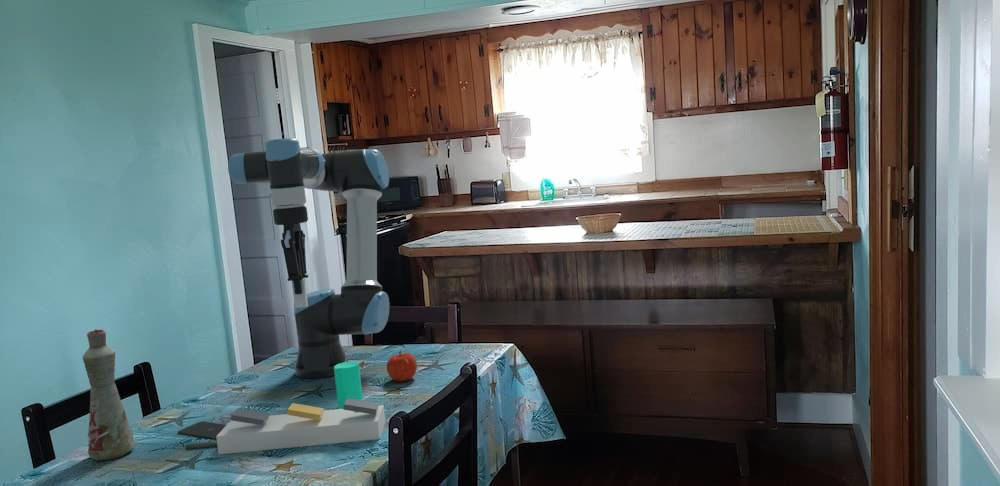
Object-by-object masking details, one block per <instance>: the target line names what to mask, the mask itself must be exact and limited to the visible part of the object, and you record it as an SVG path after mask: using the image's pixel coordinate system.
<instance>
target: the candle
mask: <svg viewBox="0 0 1000 486" xmlns="http://www.w3.org/2000/svg"><path fill="white" fill-rule="evenodd" d="M345 360H346V359H345ZM334 374H335V375H334V381H335V390H336V399H337V407H338V408H337V409H343V408H344V403H345V402H346V400H347V398H350V399H356V400H362V401H364V398H363V388H362V379H361V371H360V364H359V362H357V361H353V362H351V361H348V362H343V363H339V364H337V365H335V367H334Z"/></svg>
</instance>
